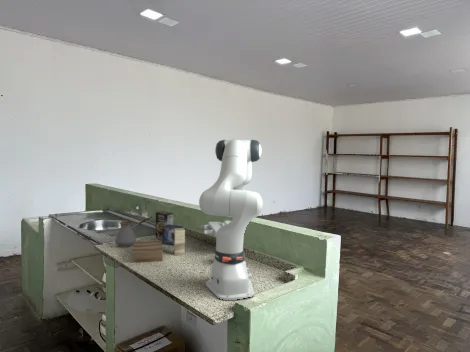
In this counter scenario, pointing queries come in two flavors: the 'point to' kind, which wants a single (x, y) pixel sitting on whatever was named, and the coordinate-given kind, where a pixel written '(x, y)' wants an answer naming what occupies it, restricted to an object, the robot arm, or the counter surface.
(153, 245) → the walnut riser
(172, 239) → the small box
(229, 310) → the counter surface
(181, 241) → the birch block
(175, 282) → the counter surface
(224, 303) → the counter surface
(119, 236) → the coffee pot
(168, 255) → the counter surface
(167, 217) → the coffee box
